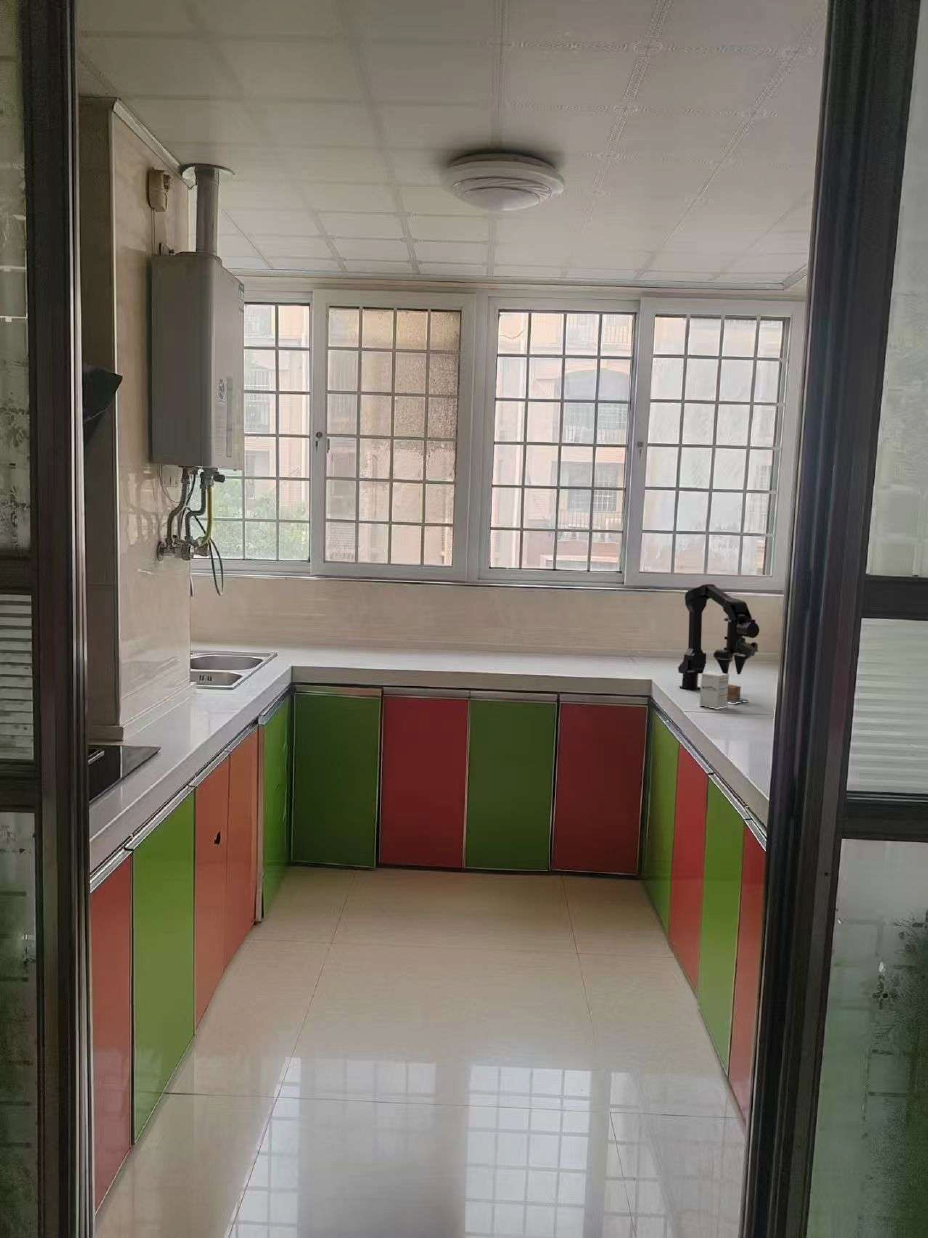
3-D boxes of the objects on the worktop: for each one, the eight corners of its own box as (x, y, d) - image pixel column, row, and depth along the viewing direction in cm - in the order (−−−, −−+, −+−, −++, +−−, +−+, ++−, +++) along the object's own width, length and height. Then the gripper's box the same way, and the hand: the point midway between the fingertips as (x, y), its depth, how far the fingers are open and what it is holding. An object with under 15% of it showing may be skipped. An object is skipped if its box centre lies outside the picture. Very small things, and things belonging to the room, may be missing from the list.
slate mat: (727, 697, 373) (727, 695, 373) (747, 701, 367) (748, 699, 367) (712, 700, 366) (712, 698, 366) (733, 704, 360) (733, 702, 360)
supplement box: (698, 706, 355) (700, 672, 353) (709, 704, 360) (711, 670, 358) (716, 710, 349) (718, 675, 348) (727, 707, 355) (729, 673, 353)
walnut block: (728, 697, 370) (729, 684, 369) (739, 699, 366) (740, 686, 366) (720, 698, 367) (721, 685, 366) (732, 701, 363) (733, 687, 362)
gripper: (740, 638, 351) (737, 681, 353) (767, 635, 364) (764, 676, 366) (713, 635, 359) (711, 676, 361) (740, 631, 372) (738, 671, 374)
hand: (732, 675), depth 365 cm, fingers open, 9 cm apart
